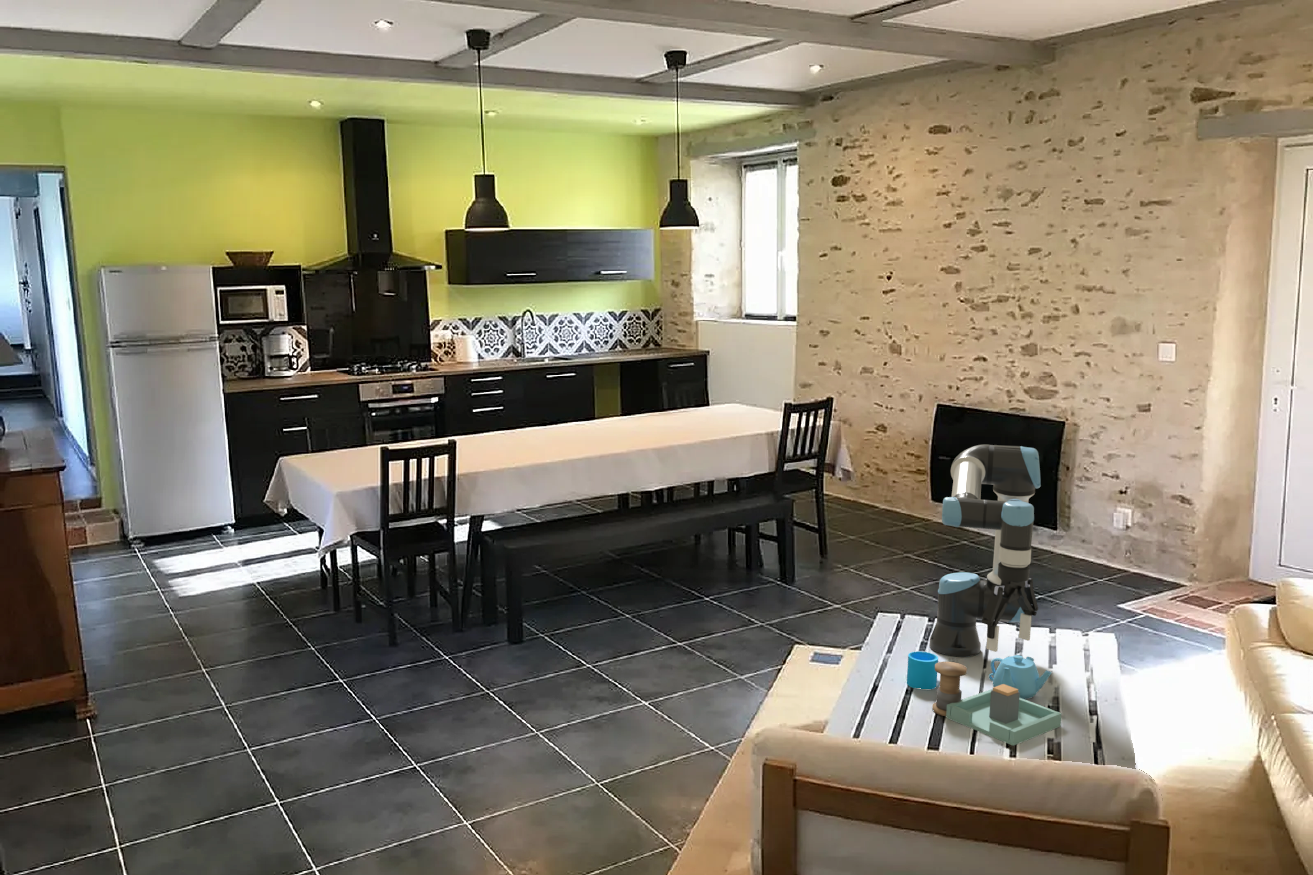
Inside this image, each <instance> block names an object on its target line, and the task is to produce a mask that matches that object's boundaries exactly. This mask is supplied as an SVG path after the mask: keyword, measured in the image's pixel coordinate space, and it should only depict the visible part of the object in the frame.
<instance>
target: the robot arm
mask: <svg viewBox="0 0 1313 875" xmlns="http://www.w3.org/2000/svg"><path fill="white" fill-rule="evenodd" d="M1040 467H1041V466H1040V456H1039V451H1038V450H1037V449H1036V448H1034V447H1027V446H1022V445H1021V446H1020V445H997V444H994V445H993V444H978V445H974V446H971V447H969V448H967V449H964V450H963V451H961V452H960V453H959V454H958V455H957V456H956V457H955V458H954V460H953V461H952V463H951V467H950V476H951V478H952V480H953V483H952V489H951V490H952V491H951V496H949V497H948V496H946V497H944V498H943V500H942V510H941V522H942V524H943V525H944V526H951V527H955V528H971V529H972V528H973V529H985V530H993V531H994V530H995V531H994V532H995V534H994V548H993V550H994V551H993V562H992V571H990V572H989V573H987V575H986V580H985V579H984V580H982V579H981V578H980V576H979V575H978V574H976V573H973V572H953V573H952V572H951V573H948V574H945V575H944V576H943V575H942V577H940V579H939V583H938V584H939V585H938V589H937V594H938V600H937V612H936V623H935V625H934V628H933V630H932V632H931V635H930V637H929V648H930V650H933V651H934V652H936V653H939V654H942V655H946V656H951V657H961V658H962V657H963V658H964V657H965V658H967V657H974V656H977V655H979V654H980V653H981V649H982V648H981V647H982V646H981V641H980V638H979V632H978V629H977V619H979V620H981V624H984V625H986V626H987V627H986V628H987V629H986V630H987V631H986V649H987V650H989V651H992V652H995V653H997V652H998V649H999V634H1000V632H999V631H1000V626H999V625H998V624H999V622H1005V623H1006V622H1007V623H1019V633H1018V639H1022V640H1025V641H1031V640H1030V639H1031V628H1032V618H1033V616H1035V617H1036V615H1037V612H1038V611H1039V605H1038V601H1037V598H1036V594H1035V591H1034V583H1033V582H1034V579H1033V578H1031V577H1030V572H1031V570H1030V569H1031V567H1030V564H1031V560H1032V541H1033V540H1032V539H1033V530H1034V521H1035V514H1034V513H1035V507H1034V505H1033V504H1031V503H1029V502H1030V501H1029V499H1030V498H1031V497H1033V496H1034V495H1035V493H1036V489H1039V488H1040V487H1041V486H1042V485H1041V470H1040V469H1041V468H1040ZM982 485H991V486H992V485H993V486H992V490H993V492H994V493H995V494H996V496H997V500H991V499H981V496H982V495H981V494H982V493H981V492H982Z"/></svg>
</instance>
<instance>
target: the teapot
mask: <svg viewBox="0 0 1313 875" xmlns="http://www.w3.org/2000/svg"><path fill="white" fill-rule="evenodd" d="M1034 661H1035V659H1034V657H1031V656H1026V658H1024V656H1022V655H1019V654H1015V655H1011V656H1006V657H1004V658H1000V657H994V658H993V659H991V661H990V669H991V672H992V673H990V674H988V679H989V681H991V682H992V688H993V687H996V686H999V685H1002V684H1005V685H1008V686H1010V687H1013V688H1016V689H1018V692H1020V697H1019V698H1022V699H1025V700H1028V699H1032V698H1034V697H1035V696H1036V695H1037V693H1038V692H1039V691H1040V690H1041V689H1043V686H1044V685H1045V683H1046V682H1047V681H1048V679H1049V677H1050V676H1051V675H1052V671H1049V670H1047V669H1046V670H1045V671H1044V672H1043V673H1042V674H1041V675H1040V673H1039V671H1038V668H1037V666H1036V665H1037V664H1036V662H1034ZM995 662H999V664H998V666H997V668H995ZM992 676H993V677H992ZM1033 696H1034V697H1033Z"/></svg>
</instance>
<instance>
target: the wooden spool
mask: <svg viewBox="0 0 1313 875" xmlns="http://www.w3.org/2000/svg"><path fill="white" fill-rule="evenodd" d="M935 671H936V672H937V674H940V675H939V686H937V687H936V688H937V689H936V700H935V701H936V702H934V703H932V706H931V708H932V711H933V710H934V711H933V712H934V713H935V714H937V715H939V716H943V717H946V711H947V705H948V704H950V703H957V702H960V701H961V700H962V695H963V693H962V690H961V689H960V688H961V686H960V685H961V684H960V683H961V677H963V676H965V675H966V674H967V671H968V668H967V666H965V665H964V664H962V663H958V662H953V661H938V663H936V664H935Z"/></svg>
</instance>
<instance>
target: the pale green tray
mask: <svg viewBox="0 0 1313 875" xmlns="http://www.w3.org/2000/svg"><path fill="white" fill-rule="evenodd" d="M991 690H993V688H991V689H988V690H985V691H983V692H980V693H976V694H974V695H971V696H968V697H966V698H963V699H962V698H961V701H960V702H957V703H950V704H948V705H947V711H946V716H945V718H946V719H948V720H951V721H953V722H956V723H958V724H960V725H963V726H965V727H968V728H970V729H973V730H974V731H977V732H980V733H982V734H984V735H987V736H989V737H992V738H994V739H996V740H999V741H1001V742H1003V743H1006V744H1008V745H1011V746H1016V745H1018V744H1020V743H1023V742H1025V741H1028V740H1030V739H1033V738H1036V737H1038V736H1040V735H1043V734H1045V733H1047V732H1050V731H1053V730H1055V729H1058V728H1060V727H1061V726H1062V725H1061V724H1062V713H1061V712H1059V711H1056V710H1054V709H1052V708H1049V707H1045V706H1043V705H1040V704H1037V703H1035V702H1032V701H1030V700H1028V699H1022V698H1019V711H1018V720H1015V721H1012V722H1010V723H1007V724H1005V723H1002V722H1000V721H997V720H995V719H992V718H990V717H989V713H990V699H991Z"/></svg>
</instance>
